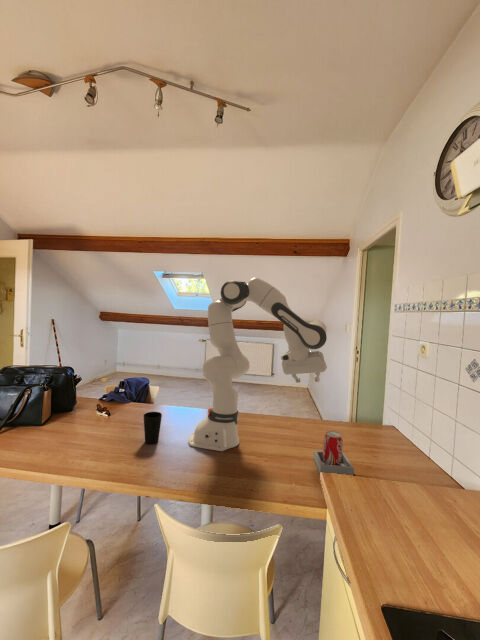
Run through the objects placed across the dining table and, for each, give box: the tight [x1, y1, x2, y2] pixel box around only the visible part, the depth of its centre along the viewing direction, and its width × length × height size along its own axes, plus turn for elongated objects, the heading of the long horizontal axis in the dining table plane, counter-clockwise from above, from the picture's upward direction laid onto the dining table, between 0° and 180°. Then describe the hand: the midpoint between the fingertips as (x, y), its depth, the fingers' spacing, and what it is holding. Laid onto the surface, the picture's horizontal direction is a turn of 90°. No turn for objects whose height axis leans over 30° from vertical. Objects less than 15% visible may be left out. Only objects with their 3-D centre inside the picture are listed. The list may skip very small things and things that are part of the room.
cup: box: [143, 411, 163, 446], centre depth 128 cm, size 8×8×12 cm
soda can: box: [322, 430, 344, 466], centre depth 114 cm, size 7×7×12 cm
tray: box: [313, 449, 355, 476], centre depth 113 cm, size 12×12×4 cm
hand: (307, 381), depth 133 cm, fingers open, 8 cm apart
